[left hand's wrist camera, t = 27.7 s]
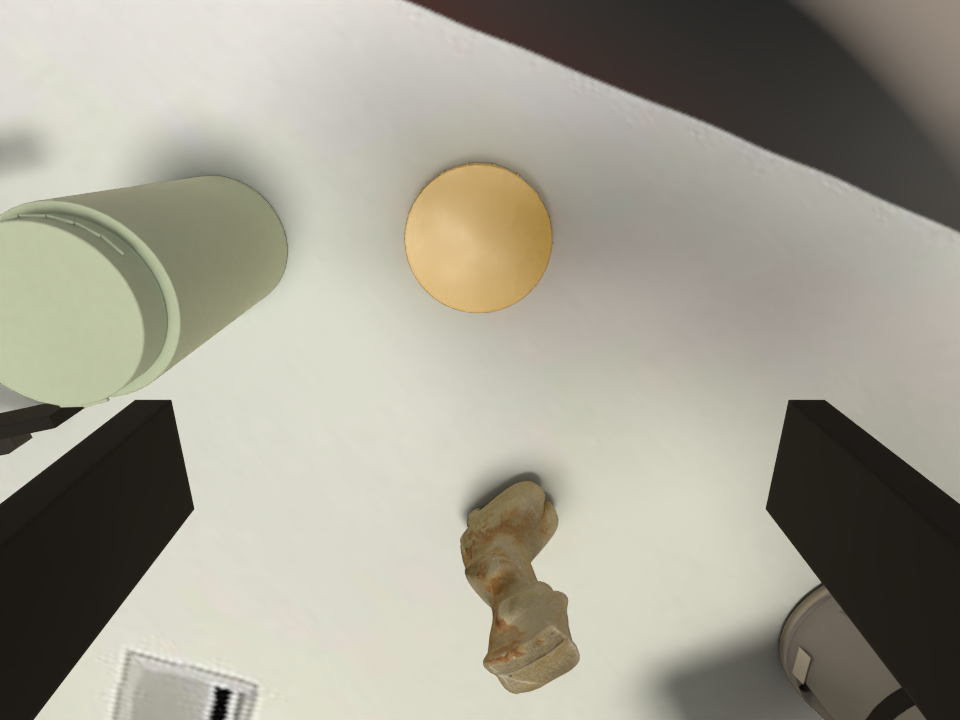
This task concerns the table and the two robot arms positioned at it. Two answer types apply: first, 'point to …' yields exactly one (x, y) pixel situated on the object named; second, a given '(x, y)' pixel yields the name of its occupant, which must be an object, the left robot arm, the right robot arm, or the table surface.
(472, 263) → the lid
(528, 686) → the sculpture
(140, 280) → the jar
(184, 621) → the table surface
